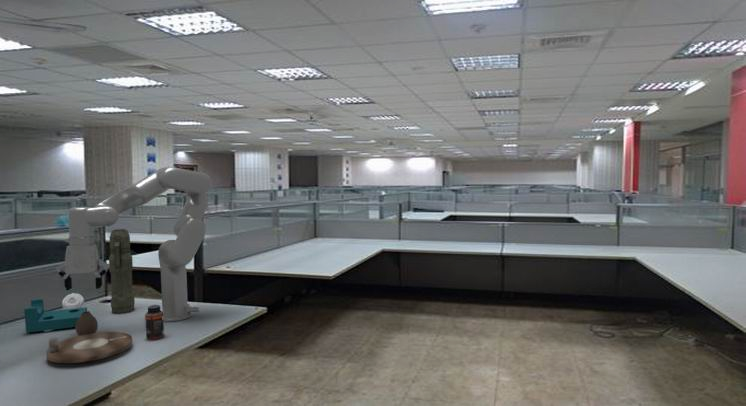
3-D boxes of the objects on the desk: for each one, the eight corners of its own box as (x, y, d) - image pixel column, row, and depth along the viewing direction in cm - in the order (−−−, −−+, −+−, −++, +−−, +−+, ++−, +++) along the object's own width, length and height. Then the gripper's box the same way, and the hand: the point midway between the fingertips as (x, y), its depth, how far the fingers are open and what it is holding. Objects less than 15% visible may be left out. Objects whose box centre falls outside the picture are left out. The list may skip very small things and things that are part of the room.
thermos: (109, 316, 196) (105, 231, 194) (112, 309, 207) (109, 229, 205) (133, 313, 200) (130, 230, 197) (135, 306, 210) (132, 227, 208)
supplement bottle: (168, 335, 171) (167, 304, 171) (155, 341, 166) (154, 309, 165) (155, 334, 173) (153, 303, 172) (142, 339, 168) (140, 307, 167)
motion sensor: (60, 315, 199) (59, 296, 199) (64, 310, 206) (63, 292, 205) (83, 312, 202) (82, 294, 202) (86, 308, 209) (85, 290, 209)
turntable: (124, 331, 172) (123, 316, 172) (139, 350, 153) (139, 333, 153) (43, 347, 157) (42, 330, 157) (50, 369, 138) (49, 351, 138)
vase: (102, 332, 175) (101, 309, 175) (89, 339, 169) (88, 315, 168) (84, 332, 176) (83, 309, 176) (71, 339, 169) (70, 314, 169)
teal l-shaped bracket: (26, 336, 175) (24, 309, 173) (34, 325, 184) (31, 299, 183) (83, 329, 182) (81, 303, 180) (87, 319, 191) (85, 294, 190)
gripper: (50, 243, 165) (52, 292, 166) (104, 242, 168) (106, 289, 169) (59, 240, 172) (61, 287, 173) (111, 239, 176) (113, 285, 176)
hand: (83, 288), depth 171 cm, fingers open, 9 cm apart
